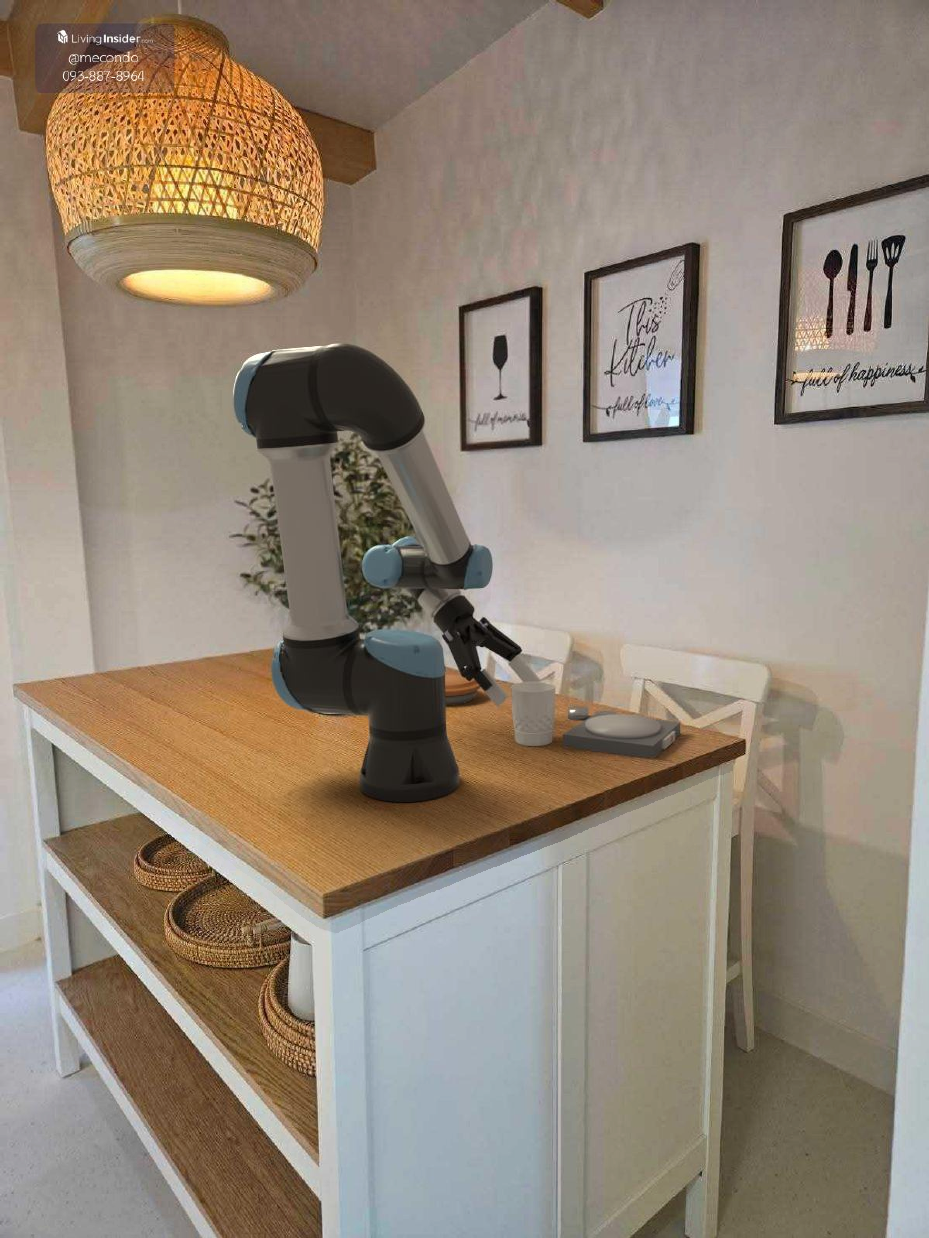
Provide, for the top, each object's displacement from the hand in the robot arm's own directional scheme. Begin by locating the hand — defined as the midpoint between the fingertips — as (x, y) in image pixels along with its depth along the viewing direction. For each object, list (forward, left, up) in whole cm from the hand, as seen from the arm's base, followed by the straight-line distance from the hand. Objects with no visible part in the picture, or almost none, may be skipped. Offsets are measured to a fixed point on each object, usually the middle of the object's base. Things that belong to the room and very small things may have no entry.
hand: (520, 693), depth 148 cm
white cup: (-2, -4, -8) cm, 9 cm away
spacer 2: (+15, -11, -8) cm, 20 cm away
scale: (+5, -18, -8) cm, 20 cm away
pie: (+19, +27, -8) cm, 34 cm away
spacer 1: (+16, -5, -8) cm, 18 cm away
